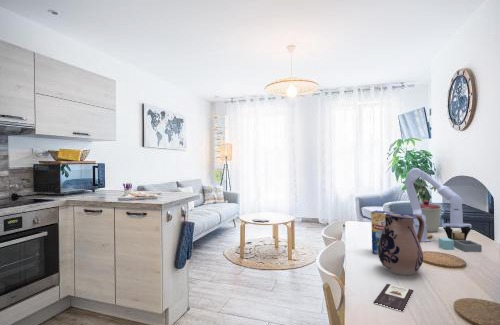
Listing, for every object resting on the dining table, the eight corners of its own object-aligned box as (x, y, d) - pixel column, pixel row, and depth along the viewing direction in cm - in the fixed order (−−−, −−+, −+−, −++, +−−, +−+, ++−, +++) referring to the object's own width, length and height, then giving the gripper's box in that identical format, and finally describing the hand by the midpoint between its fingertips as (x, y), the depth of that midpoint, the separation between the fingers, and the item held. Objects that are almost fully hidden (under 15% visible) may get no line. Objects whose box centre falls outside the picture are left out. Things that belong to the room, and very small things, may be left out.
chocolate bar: (373, 301, 94) (387, 283, 108) (373, 304, 94) (387, 285, 108) (402, 310, 88) (413, 289, 102) (402, 313, 88) (413, 292, 102)
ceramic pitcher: (369, 267, 126) (368, 213, 126) (403, 260, 133) (401, 209, 133) (402, 282, 109) (401, 220, 109) (439, 274, 117) (437, 215, 117)
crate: (463, 251, 144) (463, 244, 144) (453, 246, 153) (453, 240, 153) (481, 251, 143) (481, 245, 143) (470, 246, 152) (470, 240, 152)
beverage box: (394, 258, 137) (393, 214, 137) (372, 253, 145) (371, 212, 145) (398, 254, 142) (397, 212, 142) (376, 250, 149) (375, 210, 149)
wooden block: (455, 245, 155) (454, 233, 155) (449, 242, 160) (449, 230, 160) (464, 245, 154) (464, 233, 154) (459, 243, 159) (458, 231, 159)
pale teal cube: (444, 249, 148) (443, 240, 148) (438, 246, 153) (438, 238, 153) (454, 249, 147) (453, 240, 147) (448, 247, 152) (448, 238, 152)
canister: (448, 234, 178) (447, 201, 178) (418, 233, 181) (417, 201, 181) (434, 227, 196) (434, 198, 196) (407, 227, 199) (406, 198, 199)
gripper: (446, 217, 154) (447, 241, 154) (474, 217, 152) (475, 242, 152) (439, 215, 161) (440, 238, 161) (466, 215, 159) (467, 238, 159)
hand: (456, 239), depth 157 cm, fingers open, 7 cm apart
